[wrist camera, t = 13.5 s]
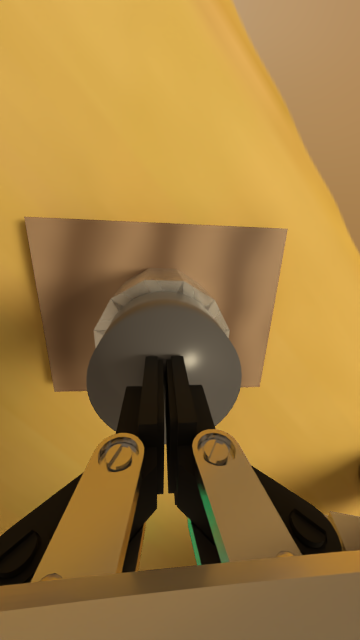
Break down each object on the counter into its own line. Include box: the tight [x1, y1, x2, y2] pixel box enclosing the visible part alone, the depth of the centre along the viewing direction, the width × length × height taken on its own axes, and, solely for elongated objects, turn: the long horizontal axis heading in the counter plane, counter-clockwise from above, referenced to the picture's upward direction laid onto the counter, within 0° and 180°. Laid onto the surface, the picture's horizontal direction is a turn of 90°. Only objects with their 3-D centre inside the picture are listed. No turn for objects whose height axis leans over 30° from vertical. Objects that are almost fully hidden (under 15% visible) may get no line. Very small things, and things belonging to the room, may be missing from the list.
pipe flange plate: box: [24, 217, 288, 392], centre depth 18 cm, size 20×15×8 cm
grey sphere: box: [86, 291, 242, 444], centre depth 13 cm, size 7×7×7 cm
